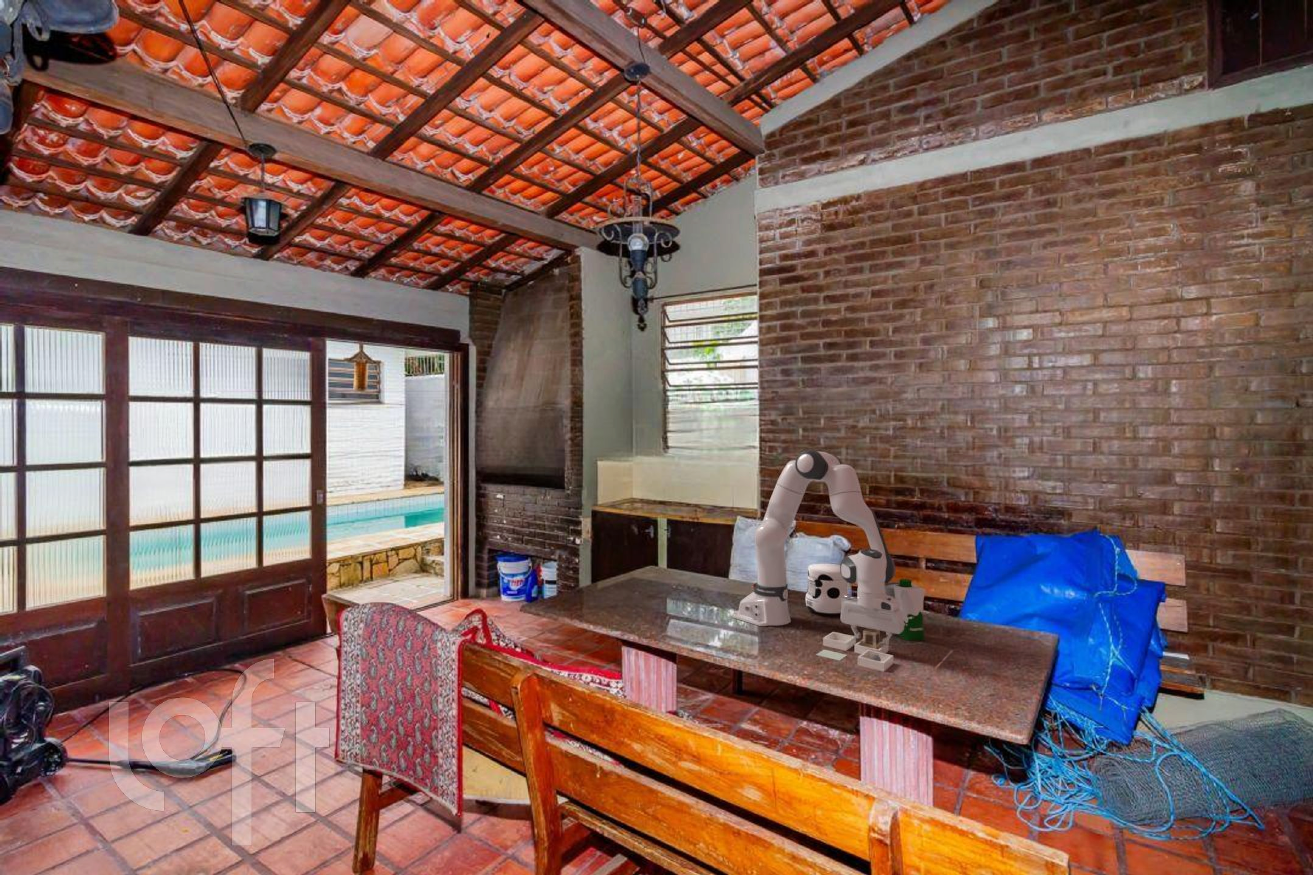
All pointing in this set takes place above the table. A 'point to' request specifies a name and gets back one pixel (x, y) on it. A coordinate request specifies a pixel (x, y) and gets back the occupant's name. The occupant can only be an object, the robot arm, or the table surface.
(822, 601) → the milk container
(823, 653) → the pad
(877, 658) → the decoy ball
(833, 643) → the white open square tray
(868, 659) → the white square open box
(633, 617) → the table surface
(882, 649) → the white square cubby
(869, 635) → the tan tall block
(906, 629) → the milk carton
